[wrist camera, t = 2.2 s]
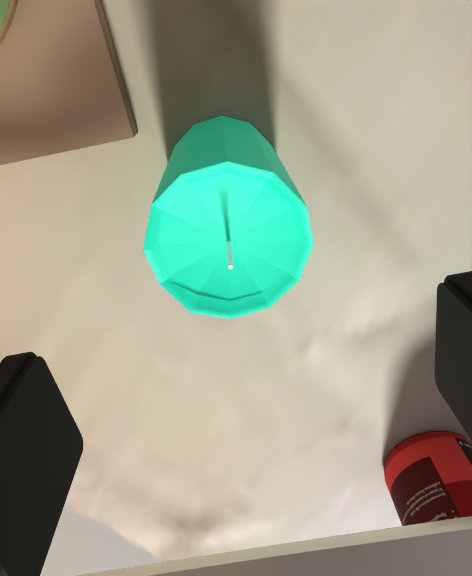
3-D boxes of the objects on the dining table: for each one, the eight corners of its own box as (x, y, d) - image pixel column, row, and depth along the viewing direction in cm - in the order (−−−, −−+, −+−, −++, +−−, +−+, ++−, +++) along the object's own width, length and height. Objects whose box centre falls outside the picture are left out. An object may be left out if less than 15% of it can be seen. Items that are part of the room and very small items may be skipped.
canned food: (476, 479, 38) (563, 625, 29) (384, 498, 39) (440, 646, 29) (476, 418, 35) (577, 560, 25) (376, 439, 35) (437, 586, 26)
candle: (242, 92, 23) (267, 132, 12) (295, 190, 25) (353, 292, 15) (147, 154, 24) (95, 238, 13) (206, 241, 27) (202, 369, 16)
